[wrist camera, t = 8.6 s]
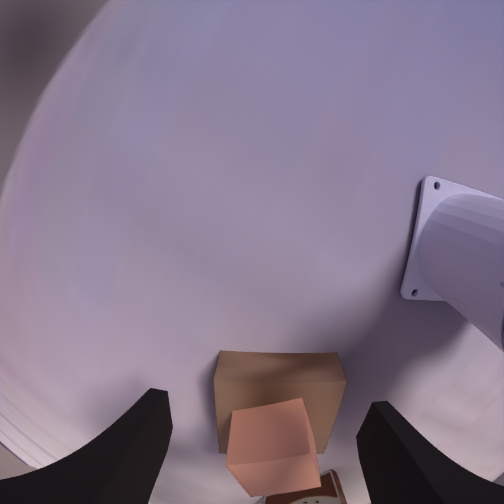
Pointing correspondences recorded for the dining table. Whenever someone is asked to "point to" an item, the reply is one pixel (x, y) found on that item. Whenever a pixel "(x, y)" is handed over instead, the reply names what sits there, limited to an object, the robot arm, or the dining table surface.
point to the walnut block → (279, 388)
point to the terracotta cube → (273, 449)
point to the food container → (313, 493)
